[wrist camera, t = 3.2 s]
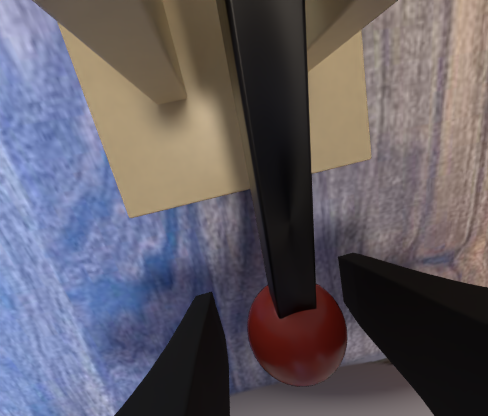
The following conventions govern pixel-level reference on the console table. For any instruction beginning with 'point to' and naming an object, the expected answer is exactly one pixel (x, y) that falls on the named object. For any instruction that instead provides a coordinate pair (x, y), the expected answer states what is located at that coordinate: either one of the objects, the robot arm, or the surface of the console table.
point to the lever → (281, 189)
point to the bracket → (202, 93)
